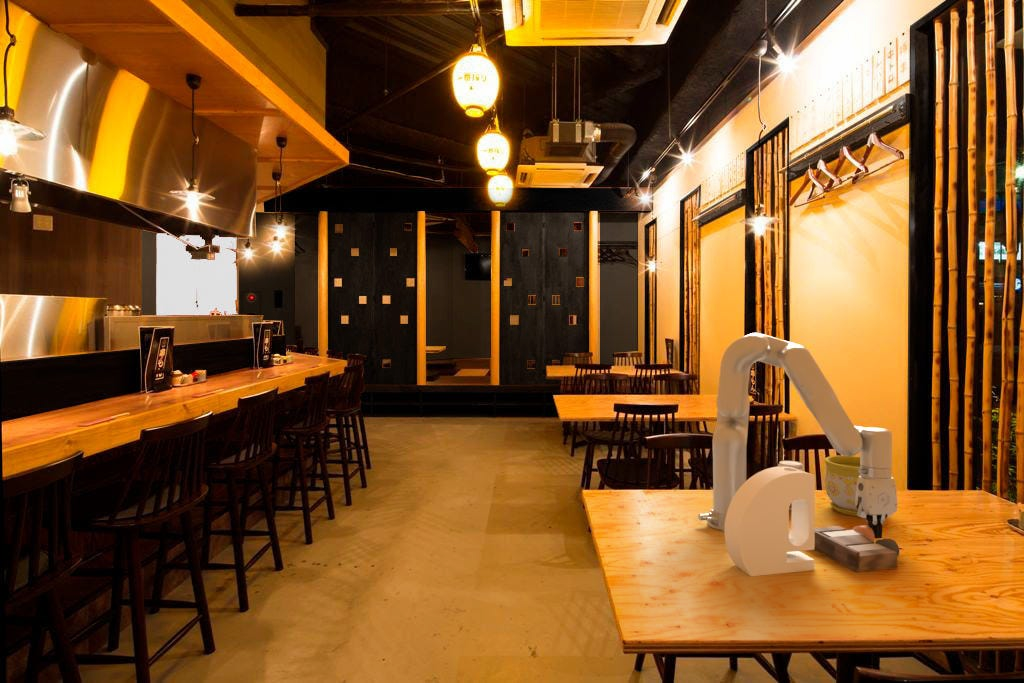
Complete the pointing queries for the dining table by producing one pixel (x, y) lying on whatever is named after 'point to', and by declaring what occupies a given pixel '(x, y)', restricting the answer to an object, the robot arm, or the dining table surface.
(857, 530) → the rust knob
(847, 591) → the dining table surface
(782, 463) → the supplement can
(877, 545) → the white and grey bar
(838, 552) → the brown wooden tray
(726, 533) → the bracket
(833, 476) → the flowerpot
